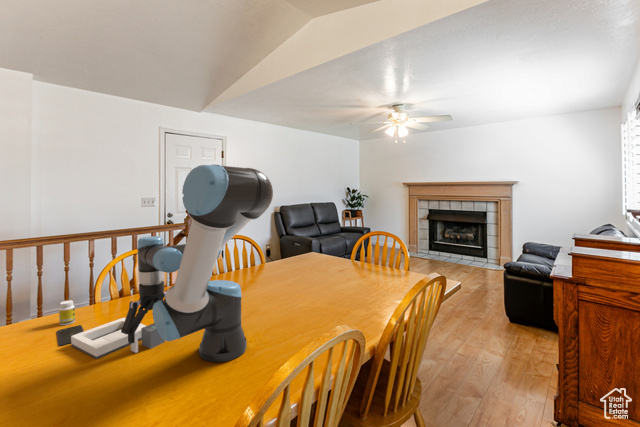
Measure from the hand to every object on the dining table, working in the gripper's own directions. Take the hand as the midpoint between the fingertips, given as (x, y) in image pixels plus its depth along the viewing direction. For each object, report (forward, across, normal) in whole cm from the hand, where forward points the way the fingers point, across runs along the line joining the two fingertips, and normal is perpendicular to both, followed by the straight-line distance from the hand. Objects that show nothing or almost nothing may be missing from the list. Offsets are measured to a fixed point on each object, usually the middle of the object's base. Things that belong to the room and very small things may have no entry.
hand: (153, 342), depth 102 cm
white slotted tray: (0, +6, -14) cm, 15 cm away
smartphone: (+1, +11, -31) cm, 33 cm away
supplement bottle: (0, +7, -44) cm, 44 cm away
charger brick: (0, 0, 0) cm, 0 cm away
